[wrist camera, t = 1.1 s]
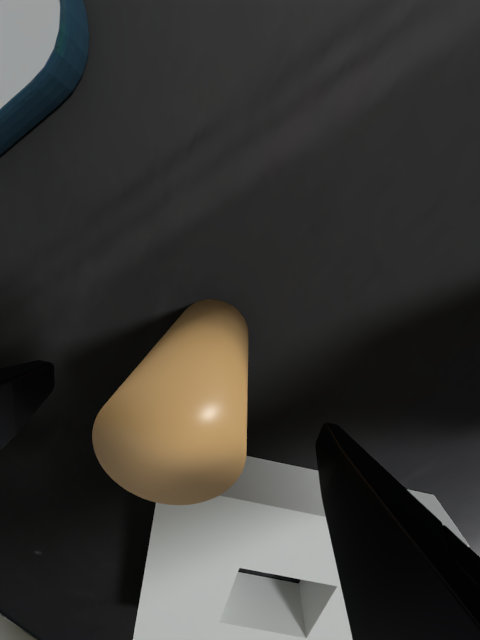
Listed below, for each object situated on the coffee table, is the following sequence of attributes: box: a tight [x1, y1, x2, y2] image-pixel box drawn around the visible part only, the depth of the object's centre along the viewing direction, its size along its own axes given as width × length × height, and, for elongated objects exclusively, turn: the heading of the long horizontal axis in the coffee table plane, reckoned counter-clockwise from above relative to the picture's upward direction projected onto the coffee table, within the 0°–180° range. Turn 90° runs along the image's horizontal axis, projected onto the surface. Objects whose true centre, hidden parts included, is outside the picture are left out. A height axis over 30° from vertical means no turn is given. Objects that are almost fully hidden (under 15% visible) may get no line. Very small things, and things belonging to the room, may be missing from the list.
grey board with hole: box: [133, 456, 469, 640], centre depth 20 cm, size 18×25×3 cm
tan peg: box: [92, 299, 248, 505], centre depth 10 cm, size 4×4×8 cm
